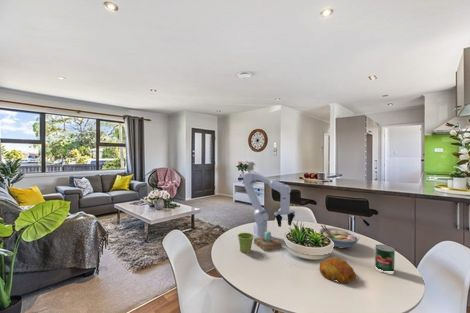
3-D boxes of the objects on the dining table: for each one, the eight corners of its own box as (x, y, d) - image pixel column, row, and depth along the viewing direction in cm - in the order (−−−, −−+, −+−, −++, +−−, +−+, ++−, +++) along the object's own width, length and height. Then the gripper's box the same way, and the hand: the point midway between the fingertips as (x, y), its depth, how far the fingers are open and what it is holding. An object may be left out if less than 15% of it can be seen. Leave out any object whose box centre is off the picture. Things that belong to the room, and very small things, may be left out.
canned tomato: (390, 267, 113) (391, 245, 113) (397, 275, 106) (397, 252, 106) (372, 264, 115) (373, 243, 115) (377, 272, 108) (378, 249, 108)
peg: (263, 244, 138) (263, 231, 138) (268, 244, 140) (269, 231, 139) (266, 247, 135) (266, 233, 135) (271, 246, 136) (271, 233, 136)
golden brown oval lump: (314, 275, 109) (312, 258, 109) (339, 265, 114) (337, 250, 114) (337, 291, 96) (335, 273, 95) (364, 280, 101) (362, 262, 101)
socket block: (254, 243, 141) (254, 238, 141) (270, 240, 145) (270, 235, 145) (264, 250, 130) (264, 245, 130) (281, 247, 134) (281, 242, 134)
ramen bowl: (366, 256, 125) (367, 241, 125) (323, 252, 129) (323, 238, 129) (351, 239, 150) (352, 227, 149) (315, 236, 154) (315, 224, 153)
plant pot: (253, 247, 134) (254, 233, 134) (253, 254, 124) (253, 239, 124) (238, 246, 135) (238, 232, 135) (236, 253, 125) (236, 238, 125)
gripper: (279, 206, 137) (278, 229, 137) (298, 204, 142) (297, 226, 143) (272, 204, 143) (272, 225, 143) (291, 202, 149) (290, 223, 149)
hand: (284, 225), depth 143 cm, fingers open, 7 cm apart
